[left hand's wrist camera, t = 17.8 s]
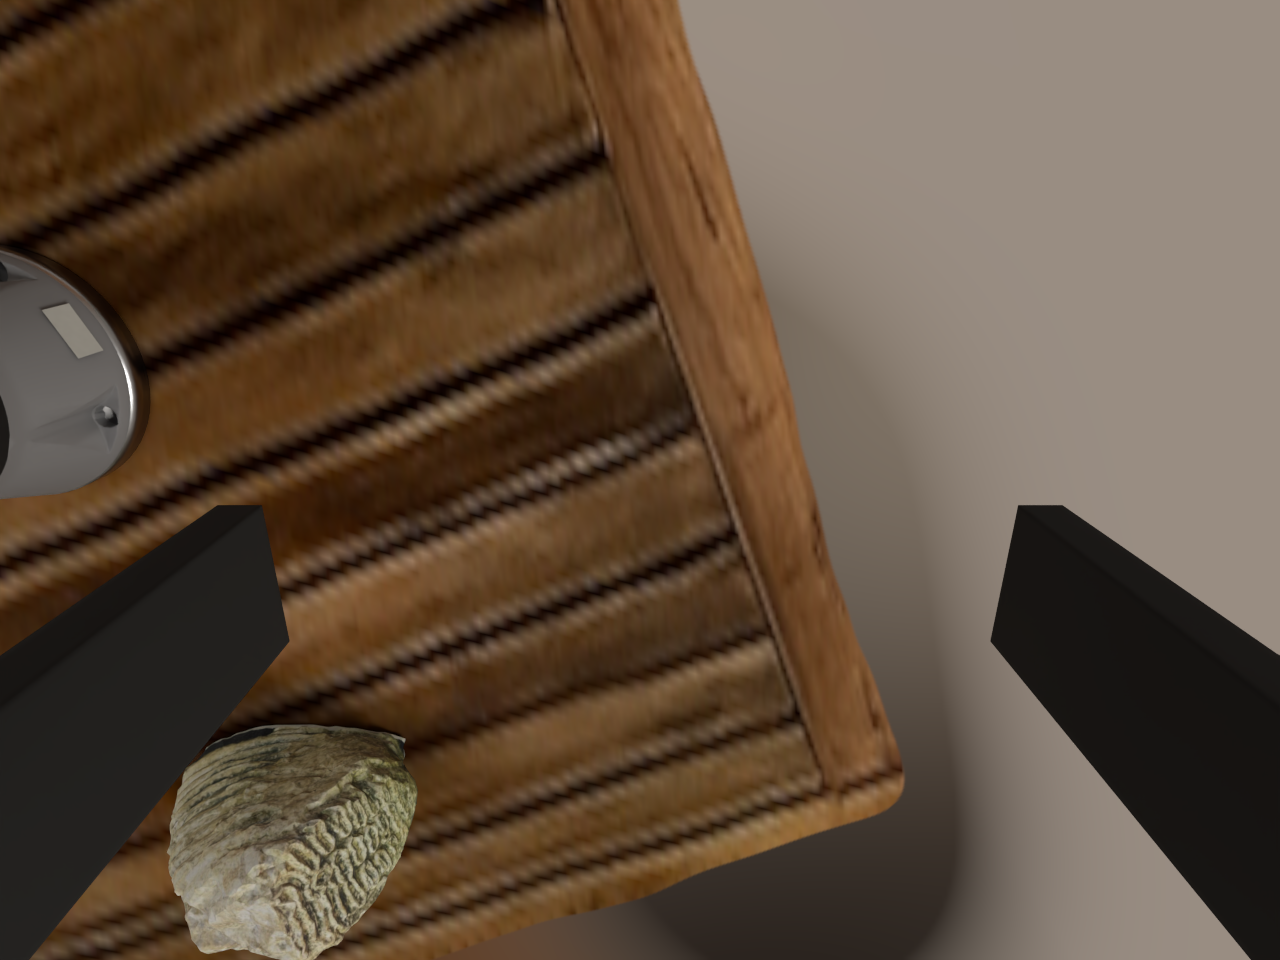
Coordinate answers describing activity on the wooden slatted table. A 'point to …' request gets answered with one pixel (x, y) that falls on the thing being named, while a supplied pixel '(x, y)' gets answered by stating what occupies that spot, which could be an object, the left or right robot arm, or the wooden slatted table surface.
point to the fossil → (288, 836)
